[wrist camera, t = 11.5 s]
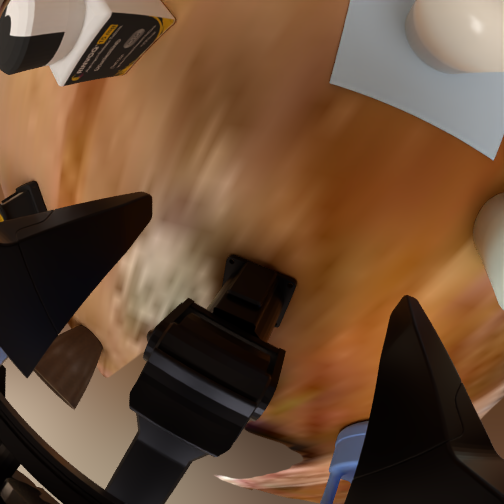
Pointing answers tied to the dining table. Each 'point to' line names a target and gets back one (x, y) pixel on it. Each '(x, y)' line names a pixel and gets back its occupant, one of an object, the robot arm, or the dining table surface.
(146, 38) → the medicine bottle
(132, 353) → the dining table surface
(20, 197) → the trophy
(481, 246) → the pale curved piece
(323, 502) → the water jug
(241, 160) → the dining table surface
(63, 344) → the plant pot
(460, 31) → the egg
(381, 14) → the felt mat
